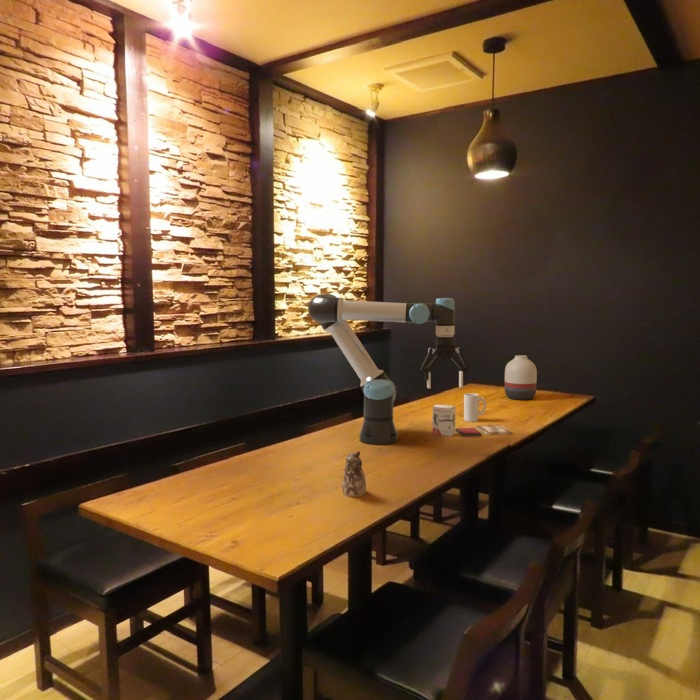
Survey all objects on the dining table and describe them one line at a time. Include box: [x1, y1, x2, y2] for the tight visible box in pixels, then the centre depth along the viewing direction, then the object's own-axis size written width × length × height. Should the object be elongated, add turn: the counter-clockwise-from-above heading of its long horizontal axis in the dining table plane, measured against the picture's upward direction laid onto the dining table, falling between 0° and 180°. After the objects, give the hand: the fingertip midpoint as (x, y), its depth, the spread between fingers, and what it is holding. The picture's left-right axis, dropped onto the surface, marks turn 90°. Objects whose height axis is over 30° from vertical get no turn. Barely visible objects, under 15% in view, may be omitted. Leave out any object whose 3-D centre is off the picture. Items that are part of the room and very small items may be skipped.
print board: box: [475, 424, 513, 436], centre depth 253 cm, size 11×13×1 cm
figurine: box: [341, 450, 367, 498], centre depth 174 cm, size 7×7×12 cm
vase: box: [504, 354, 538, 401], centre depth 329 cm, size 17×17×24 cm
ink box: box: [432, 404, 456, 437], centre depth 246 cm, size 9×5×12 cm, turn 62°
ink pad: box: [455, 427, 483, 437], centre depth 248 cm, size 8×10×1 cm
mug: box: [463, 392, 487, 423], centre depth 273 cm, size 10×7×12 cm, turn 76°
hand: (444, 387), depth 245 cm, fingers open, 13 cm apart
